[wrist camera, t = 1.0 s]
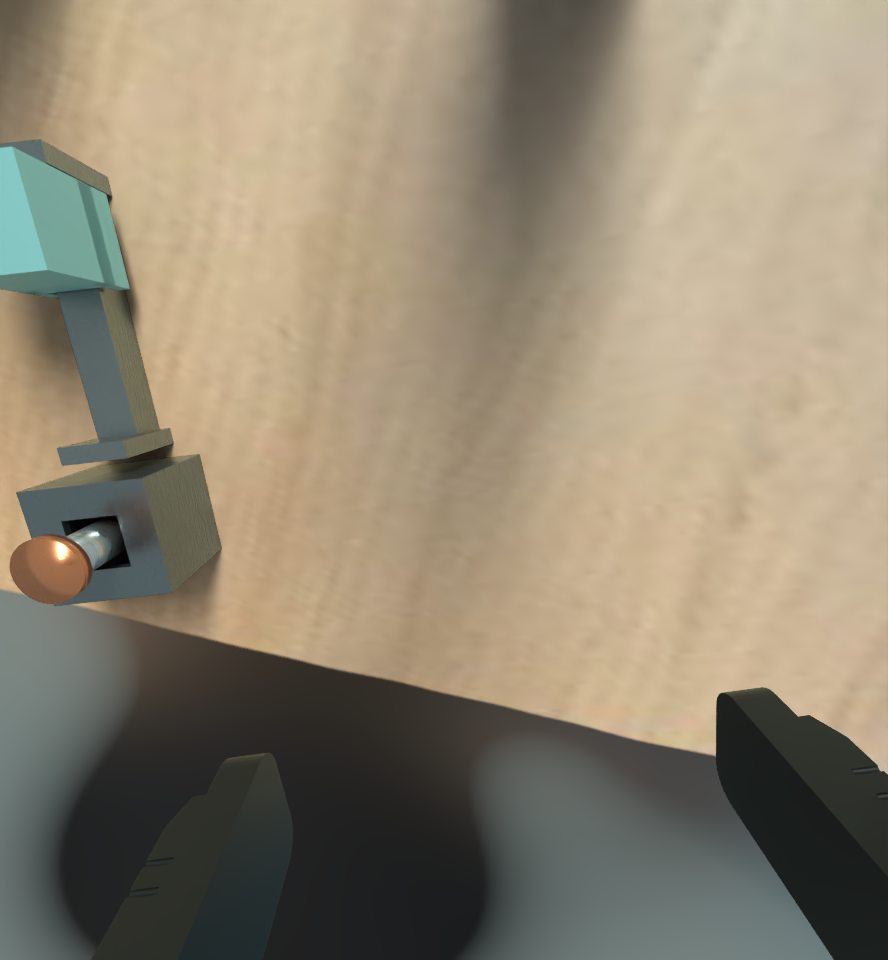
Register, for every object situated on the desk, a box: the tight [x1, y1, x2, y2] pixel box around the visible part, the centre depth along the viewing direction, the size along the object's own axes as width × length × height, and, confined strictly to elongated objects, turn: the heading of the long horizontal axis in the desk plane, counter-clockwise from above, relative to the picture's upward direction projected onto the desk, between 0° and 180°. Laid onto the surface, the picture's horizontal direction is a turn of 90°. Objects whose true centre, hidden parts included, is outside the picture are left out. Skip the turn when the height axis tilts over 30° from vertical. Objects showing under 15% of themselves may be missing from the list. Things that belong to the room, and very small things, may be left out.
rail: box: [0, 139, 173, 466], centre depth 33 cm, size 19×4×6 cm, turn 6°
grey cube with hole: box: [16, 454, 221, 606], centre depth 36 cm, size 8×8×8 cm
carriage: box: [0, 147, 130, 298], centre depth 30 cm, size 6×5×8 cm
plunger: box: [10, 515, 126, 604], centre depth 31 cm, size 4×4×7 cm
